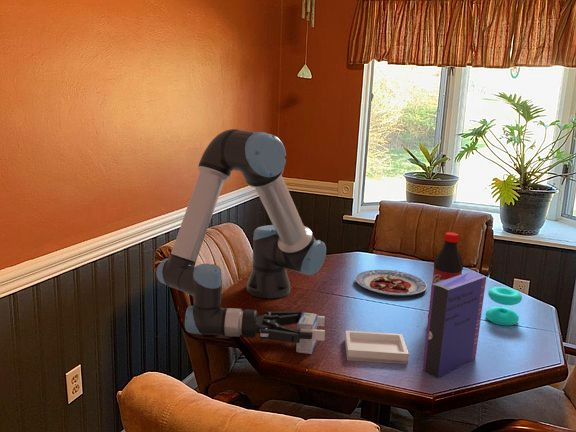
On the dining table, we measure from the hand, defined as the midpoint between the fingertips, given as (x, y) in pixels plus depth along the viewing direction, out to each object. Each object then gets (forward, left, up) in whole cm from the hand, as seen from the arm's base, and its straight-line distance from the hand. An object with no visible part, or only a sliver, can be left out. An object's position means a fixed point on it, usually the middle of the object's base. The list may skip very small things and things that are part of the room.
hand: (324, 328), depth 154 cm
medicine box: (0, -5, -6) cm, 8 cm away
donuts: (-28, +57, -6) cm, 64 cm away
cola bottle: (-19, +36, -6) cm, 41 cm away
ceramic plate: (-53, +25, -7) cm, 59 cm away
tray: (0, +14, -6) cm, 16 cm away
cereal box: (+5, +34, -6) cm, 34 cm away
